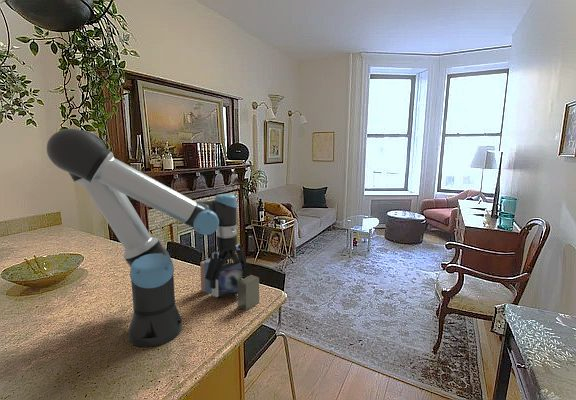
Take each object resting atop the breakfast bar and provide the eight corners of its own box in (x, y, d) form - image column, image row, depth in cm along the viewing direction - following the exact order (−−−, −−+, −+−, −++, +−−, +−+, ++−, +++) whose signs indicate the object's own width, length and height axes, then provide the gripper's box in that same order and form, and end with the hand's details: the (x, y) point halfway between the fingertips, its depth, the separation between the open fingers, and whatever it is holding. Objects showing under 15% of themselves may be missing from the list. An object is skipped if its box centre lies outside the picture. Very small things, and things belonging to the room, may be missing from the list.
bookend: (246, 310, 104) (245, 284, 103) (238, 307, 107) (237, 281, 105) (259, 302, 110) (259, 277, 108) (251, 299, 112) (251, 274, 111)
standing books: (208, 294, 116) (207, 262, 114) (201, 290, 118) (200, 260, 116) (222, 287, 121) (221, 257, 119) (214, 284, 124) (213, 255, 122)
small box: (213, 297, 110) (213, 270, 108) (213, 289, 116) (212, 263, 114) (242, 294, 112) (242, 268, 111) (240, 286, 119) (240, 261, 117)
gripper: (207, 245, 99) (209, 305, 102) (255, 230, 118) (255, 281, 122) (193, 241, 103) (195, 298, 107) (241, 227, 122) (242, 276, 126)
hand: (227, 289), depth 114 cm, fingers open, 12 cm apart
